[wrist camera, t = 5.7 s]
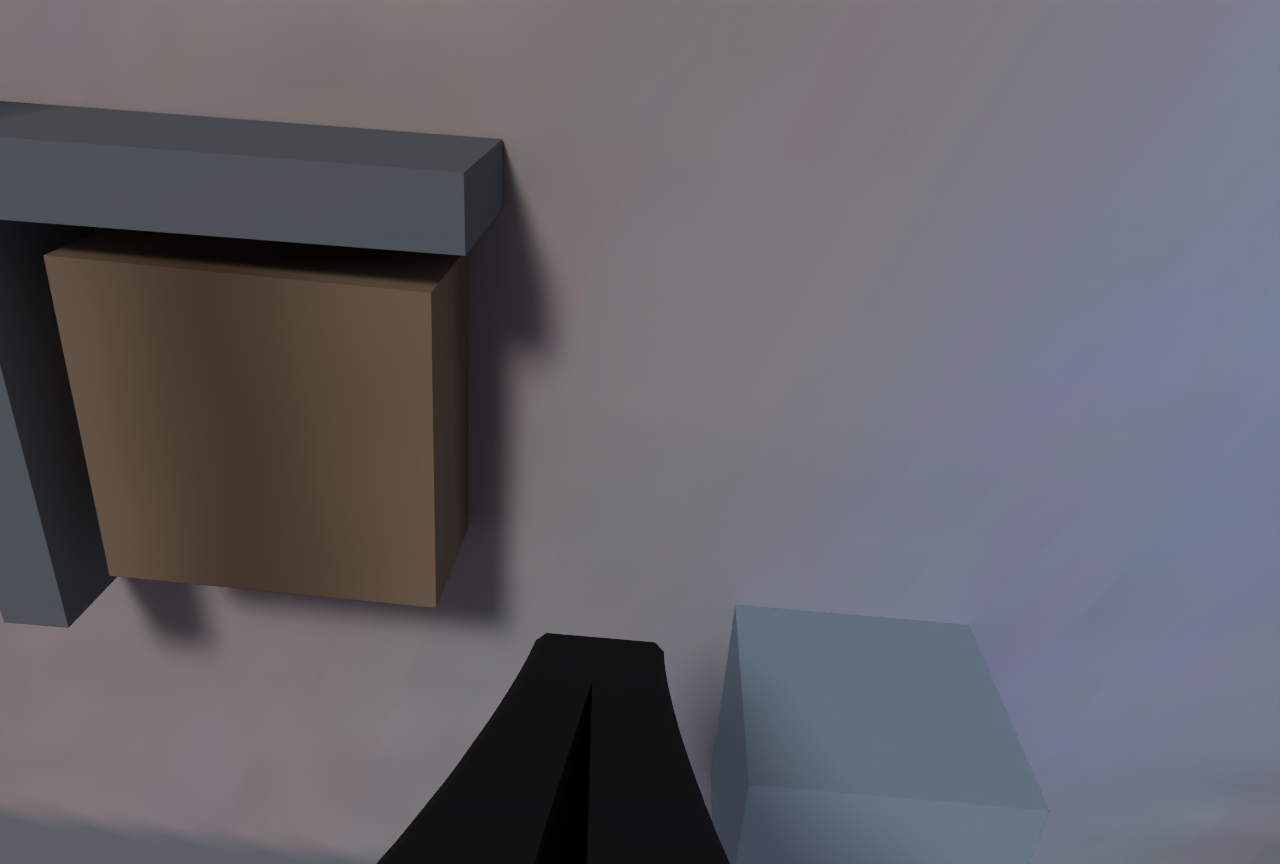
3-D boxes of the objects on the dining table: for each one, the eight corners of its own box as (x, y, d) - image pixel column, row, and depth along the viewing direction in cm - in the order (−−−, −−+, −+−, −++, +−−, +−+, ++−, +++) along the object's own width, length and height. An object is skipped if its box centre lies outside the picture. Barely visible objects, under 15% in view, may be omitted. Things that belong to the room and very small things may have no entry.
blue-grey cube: (967, 622, 20) (1049, 810, 15) (919, 790, 22) (979, 998, 18) (734, 602, 20) (749, 785, 15) (711, 772, 22) (717, 974, 18)
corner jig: (502, 139, 16) (463, 172, 13) (502, 568, 20) (473, 661, 17) (-2, 101, 16) (-144, 125, 13) (97, 533, 20) (4, 622, 17)
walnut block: (471, 242, 17) (431, 292, 14) (470, 520, 20) (436, 608, 17) (146, 210, 17) (43, 255, 14) (189, 493, 20) (109, 575, 17)
